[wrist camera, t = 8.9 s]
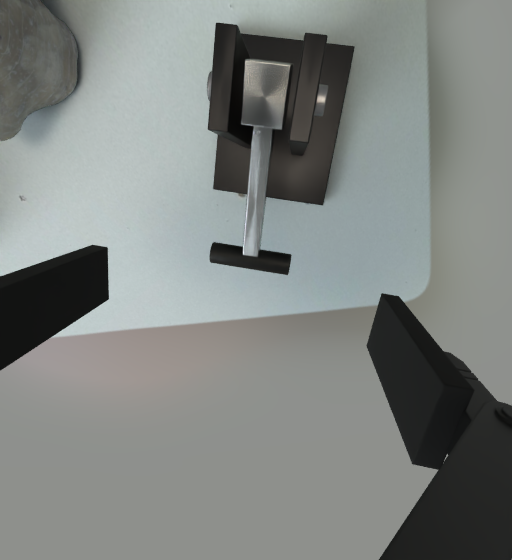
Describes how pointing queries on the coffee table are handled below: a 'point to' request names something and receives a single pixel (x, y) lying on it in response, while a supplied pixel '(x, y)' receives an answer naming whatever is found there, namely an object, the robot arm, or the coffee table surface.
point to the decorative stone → (32, 62)
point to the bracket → (300, 116)
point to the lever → (259, 162)
